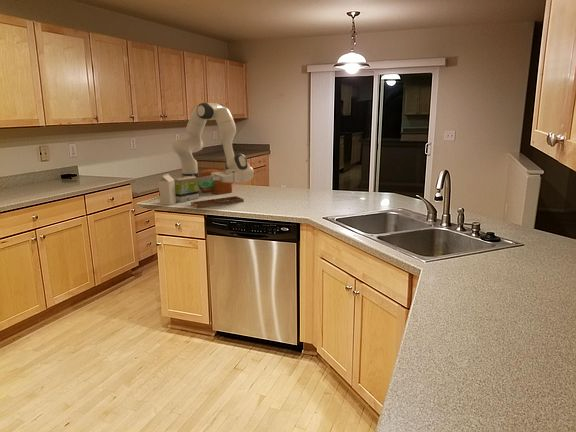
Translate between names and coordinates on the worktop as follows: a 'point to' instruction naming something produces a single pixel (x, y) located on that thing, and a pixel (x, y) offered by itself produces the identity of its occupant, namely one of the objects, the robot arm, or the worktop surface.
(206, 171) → the bread
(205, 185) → the food container
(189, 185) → the tea box
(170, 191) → the milk carton
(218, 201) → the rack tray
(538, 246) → the worktop surface
